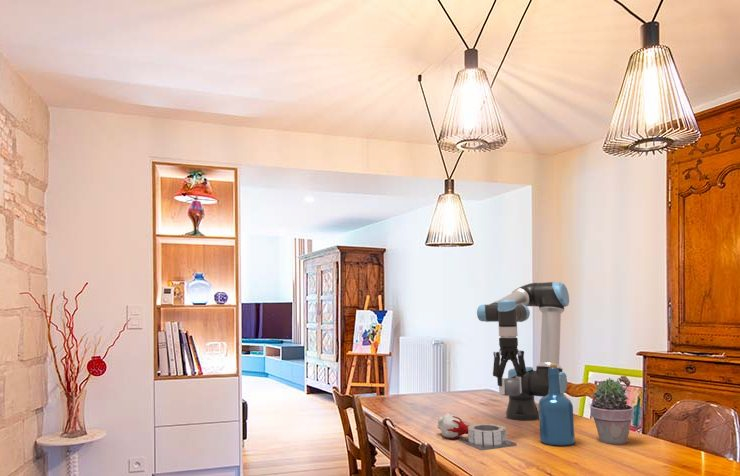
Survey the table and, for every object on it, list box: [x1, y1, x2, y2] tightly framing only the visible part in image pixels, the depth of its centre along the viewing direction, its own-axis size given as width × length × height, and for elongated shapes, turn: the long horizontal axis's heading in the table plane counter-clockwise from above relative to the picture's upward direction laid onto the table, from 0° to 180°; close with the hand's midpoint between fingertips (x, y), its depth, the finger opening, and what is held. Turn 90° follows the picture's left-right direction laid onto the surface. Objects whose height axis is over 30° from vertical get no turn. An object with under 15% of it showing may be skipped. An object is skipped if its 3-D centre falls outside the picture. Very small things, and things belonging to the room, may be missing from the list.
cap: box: [500, 377, 520, 397], centre depth 233 cm, size 8×8×6 cm
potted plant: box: [586, 375, 634, 445], centre depth 223 cm, size 18×20×25 cm
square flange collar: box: [458, 423, 518, 451], centre depth 223 cm, size 16×16×6 cm
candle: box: [437, 412, 470, 440], centre depth 233 cm, size 9×11×15 cm
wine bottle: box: [538, 364, 576, 447], centre depth 223 cm, size 14×13×30 cm
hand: (510, 393), depth 233 cm, fingers closed on cap, 8 cm apart
